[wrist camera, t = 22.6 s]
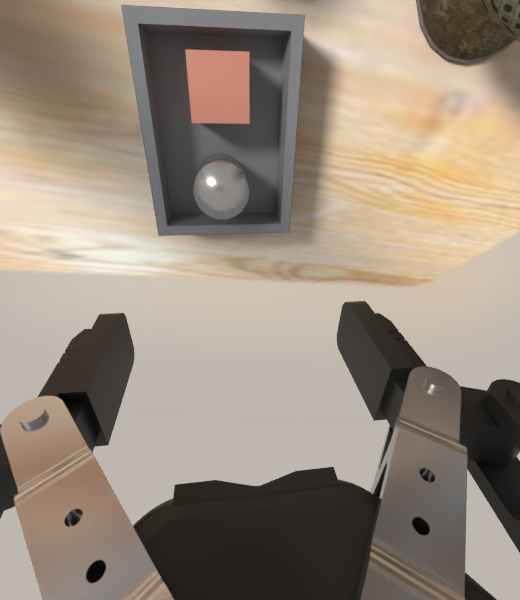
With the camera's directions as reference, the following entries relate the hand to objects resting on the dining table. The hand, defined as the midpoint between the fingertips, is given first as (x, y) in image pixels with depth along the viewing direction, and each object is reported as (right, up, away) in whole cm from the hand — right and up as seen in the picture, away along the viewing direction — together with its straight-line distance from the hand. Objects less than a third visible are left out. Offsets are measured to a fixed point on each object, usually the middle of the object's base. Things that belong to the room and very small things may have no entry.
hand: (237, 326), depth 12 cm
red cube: (-3, +21, +18) cm, 28 cm away
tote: (-3, +18, +21) cm, 28 cm away
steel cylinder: (-3, +14, +23) cm, 27 cm away
